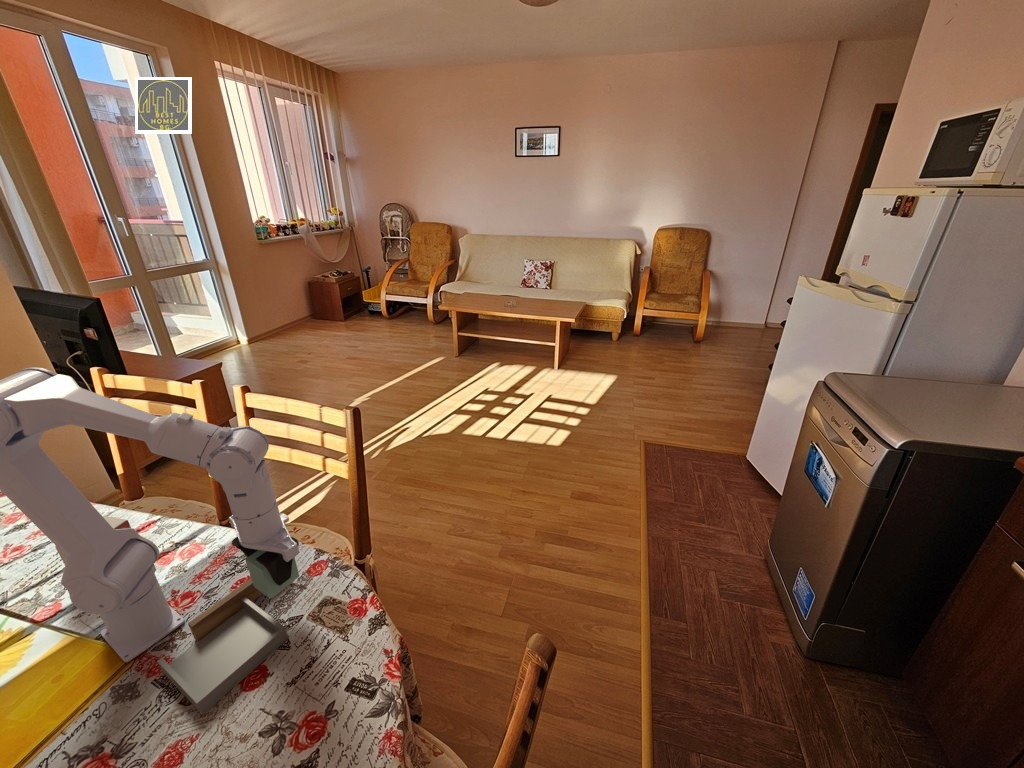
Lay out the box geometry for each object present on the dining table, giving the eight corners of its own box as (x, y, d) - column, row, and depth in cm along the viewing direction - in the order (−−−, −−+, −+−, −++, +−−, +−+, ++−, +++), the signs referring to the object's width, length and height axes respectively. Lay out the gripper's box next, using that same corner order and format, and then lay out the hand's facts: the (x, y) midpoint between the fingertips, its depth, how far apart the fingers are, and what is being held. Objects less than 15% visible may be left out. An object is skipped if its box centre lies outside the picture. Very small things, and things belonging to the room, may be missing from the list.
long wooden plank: (194, 638, 66) (186, 620, 65) (286, 570, 79) (281, 554, 77) (198, 642, 66) (190, 624, 64) (290, 572, 78) (285, 556, 77)
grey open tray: (162, 672, 62) (156, 660, 61) (248, 606, 72) (244, 596, 71) (202, 715, 57) (196, 703, 56) (288, 638, 67) (285, 627, 66)
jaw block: (254, 587, 68) (245, 558, 65) (283, 565, 72) (275, 538, 69) (270, 598, 66) (261, 570, 63) (299, 576, 70) (292, 548, 67)
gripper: (309, 507, 62) (325, 575, 68) (252, 478, 69) (271, 541, 74) (263, 537, 57) (284, 608, 62) (206, 502, 63) (229, 569, 69)
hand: (274, 574), depth 68 cm, fingers closed on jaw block, 4 cm apart
